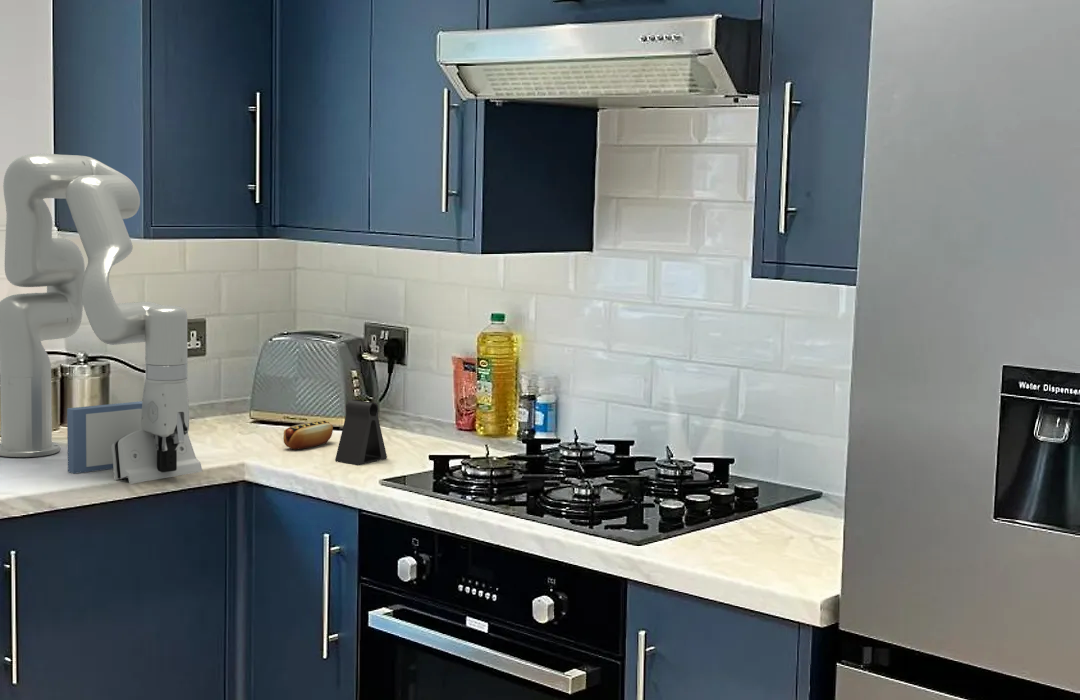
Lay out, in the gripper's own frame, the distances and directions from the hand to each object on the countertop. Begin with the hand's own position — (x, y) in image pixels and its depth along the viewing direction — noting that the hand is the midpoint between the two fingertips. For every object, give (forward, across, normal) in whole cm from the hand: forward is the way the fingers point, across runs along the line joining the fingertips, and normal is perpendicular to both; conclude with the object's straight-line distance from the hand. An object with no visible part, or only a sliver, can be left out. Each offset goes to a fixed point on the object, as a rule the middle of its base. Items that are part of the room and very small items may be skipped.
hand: (166, 470), depth 266 cm
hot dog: (+2, -10, +39) cm, 40 cm away
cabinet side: (+1, -14, 0) cm, 14 cm away
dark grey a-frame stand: (+2, +8, +39) cm, 40 cm away
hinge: (+2, -4, 0) cm, 4 cm away
